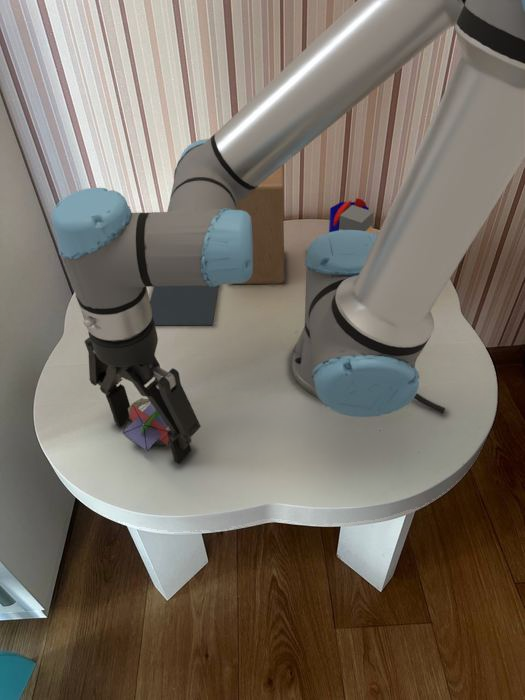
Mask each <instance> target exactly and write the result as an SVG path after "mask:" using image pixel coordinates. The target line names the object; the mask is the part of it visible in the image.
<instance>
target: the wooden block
mask: <svg viewBox="0 0 525 700" xmlns="http://www.w3.org/2000/svg"><path fill="white" fill-rule="evenodd" d="M284 201H285V200H284V165H282V166H281V167H280V168H279V169H278V170H276V171H275V172H274V173H273V174H272V175H270V176H269V177H268V178H267V179H265V180H264V181H263V182H262V183H261V184H259V186H258V187H256V188H255V189H254V190H253V191H252V192H251V193H249V194H248V195H247V196H246V197H244V198H243V199H242V200H241V201H240V202H238V204H237V205H236V210H243V211H246V212H247V213H248V214H249V215H250V216H251V222H252V238H253V273H252V276H251V278H250V279H249V280H248V281H246V282H244V283H233V284H232V285H266V284H267V285H269V284H270V285H271V284H278V285H279V284H284V282H285V219H284V217H285V215H284V213H285V212H284V209H285V208H284V207H285V206H284V204H285V203H284Z"/></svg>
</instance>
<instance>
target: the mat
mask: <svg viewBox="0 0 525 700" xmlns="http://www.w3.org/2000/svg"><path fill="white" fill-rule="evenodd" d="M152 289H153V290H152V293H151V297H150V299H149V300H150V304H151V308H152V316H153V319H154V323H155V327H156V326H161V327H163V326H164V327H167V326H170V327H171V326H172V327H174V326H176V327H177V326H178V327H179V326H180V327H181V326H183V327H184V326H185V327H187V326H188V327H190V326H191V327H195V326H196V327H197V326H199V327H200V326H201V327H204V326H205V327H207V326H208V327H211V326H213V325H214V324H213V323H214V316H215V311H216V305H217V304H216V303H217V298H218V291H219V286H216V287H212V286H211V287H210V286H154V287H153V288H152Z"/></svg>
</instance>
